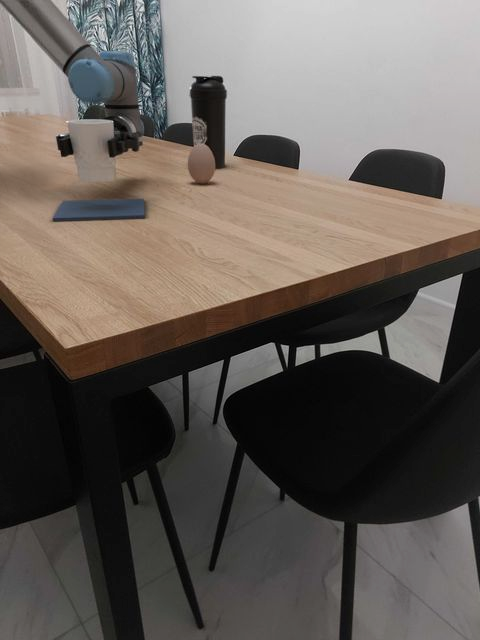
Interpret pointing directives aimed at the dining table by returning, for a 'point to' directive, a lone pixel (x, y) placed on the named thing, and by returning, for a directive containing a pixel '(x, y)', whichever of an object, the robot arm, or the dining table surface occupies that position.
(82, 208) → the glassware mat
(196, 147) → the egg
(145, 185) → the dining table surface
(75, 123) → the white cup
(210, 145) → the water bottle
